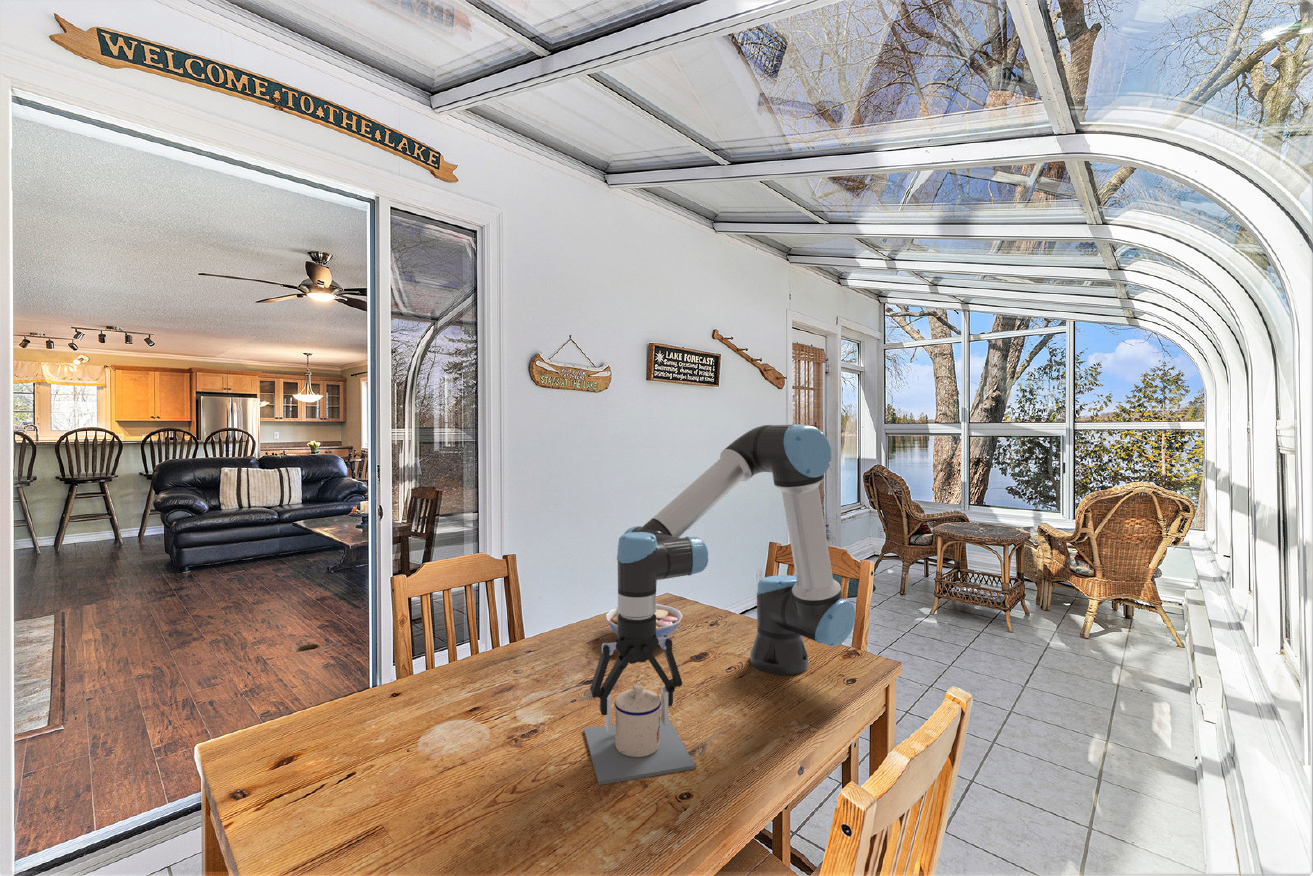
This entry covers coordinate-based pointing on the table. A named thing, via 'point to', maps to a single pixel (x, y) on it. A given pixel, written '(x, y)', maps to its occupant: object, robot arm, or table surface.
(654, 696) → the teacup with lid
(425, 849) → the table surface
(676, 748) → the slate mat
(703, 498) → the robot arm
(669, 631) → the ramen bowl
